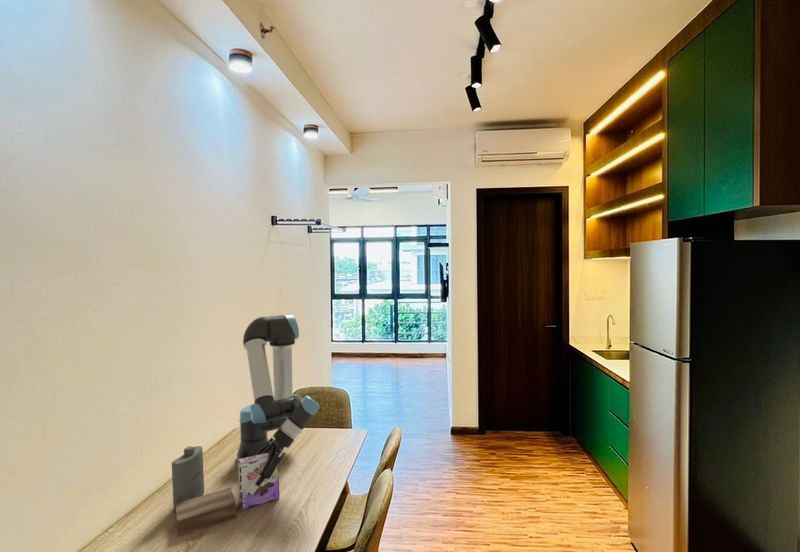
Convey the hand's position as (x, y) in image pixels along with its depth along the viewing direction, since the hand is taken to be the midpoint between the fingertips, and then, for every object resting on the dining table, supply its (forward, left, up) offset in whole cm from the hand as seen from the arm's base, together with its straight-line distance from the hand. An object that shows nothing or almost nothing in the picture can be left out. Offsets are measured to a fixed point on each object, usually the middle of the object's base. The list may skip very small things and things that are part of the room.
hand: (246, 485), depth 148 cm
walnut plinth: (0, -14, -7) cm, 15 cm away
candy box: (0, +4, -7) cm, 9 cm away
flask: (-15, -18, -7) cm, 24 cm away
